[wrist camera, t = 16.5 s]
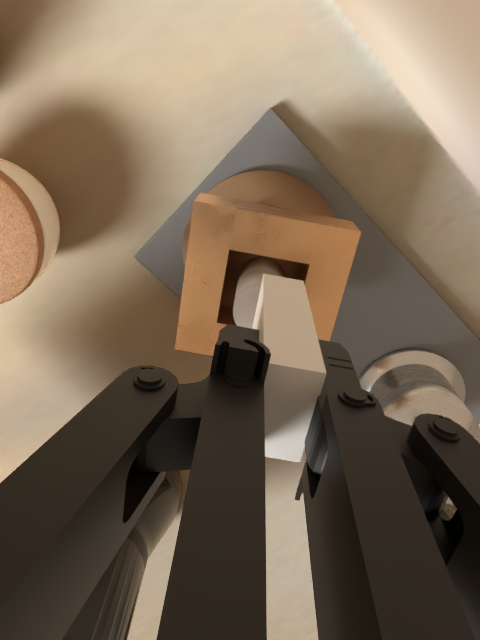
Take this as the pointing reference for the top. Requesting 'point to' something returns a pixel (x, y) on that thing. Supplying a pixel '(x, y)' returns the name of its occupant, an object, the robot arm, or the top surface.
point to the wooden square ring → (267, 240)
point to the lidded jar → (24, 230)
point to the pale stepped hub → (418, 387)
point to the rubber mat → (365, 274)
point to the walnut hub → (251, 267)
